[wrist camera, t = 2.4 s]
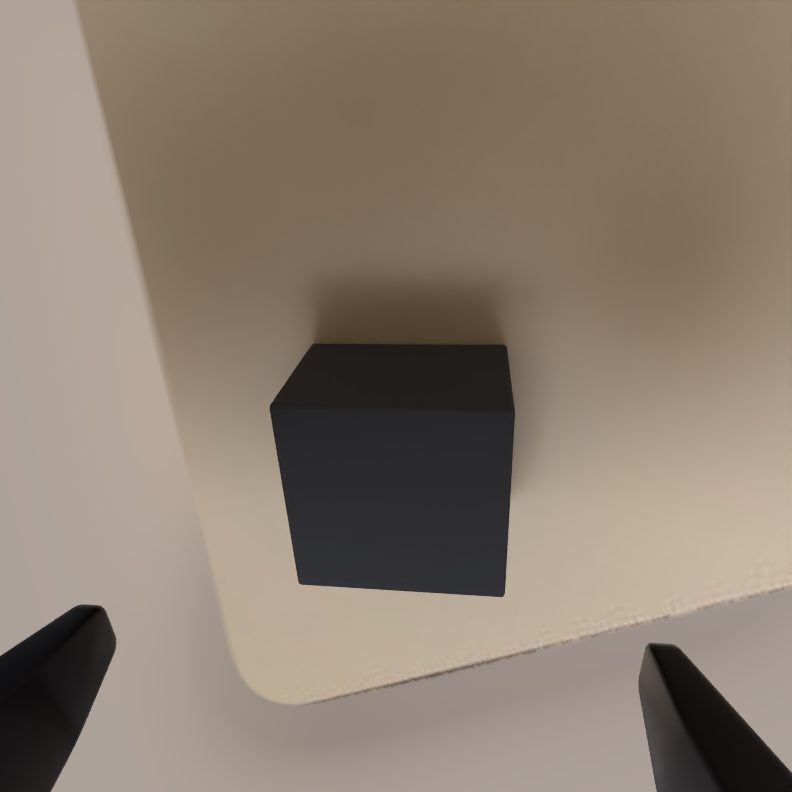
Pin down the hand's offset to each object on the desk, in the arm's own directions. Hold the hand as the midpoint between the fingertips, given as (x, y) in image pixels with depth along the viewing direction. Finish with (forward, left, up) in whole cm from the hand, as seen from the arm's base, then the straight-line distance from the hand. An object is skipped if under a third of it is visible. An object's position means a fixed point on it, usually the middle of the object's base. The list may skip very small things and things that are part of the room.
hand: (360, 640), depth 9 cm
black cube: (0, 0, -7) cm, 7 cm away
